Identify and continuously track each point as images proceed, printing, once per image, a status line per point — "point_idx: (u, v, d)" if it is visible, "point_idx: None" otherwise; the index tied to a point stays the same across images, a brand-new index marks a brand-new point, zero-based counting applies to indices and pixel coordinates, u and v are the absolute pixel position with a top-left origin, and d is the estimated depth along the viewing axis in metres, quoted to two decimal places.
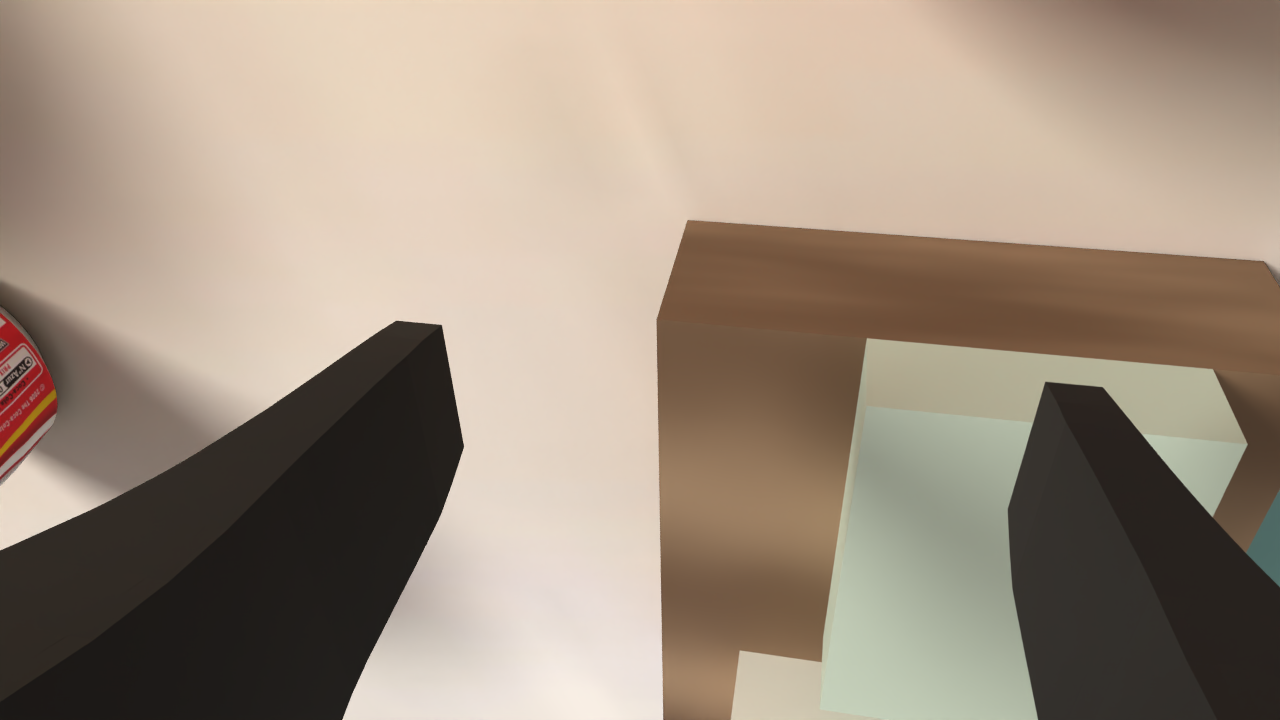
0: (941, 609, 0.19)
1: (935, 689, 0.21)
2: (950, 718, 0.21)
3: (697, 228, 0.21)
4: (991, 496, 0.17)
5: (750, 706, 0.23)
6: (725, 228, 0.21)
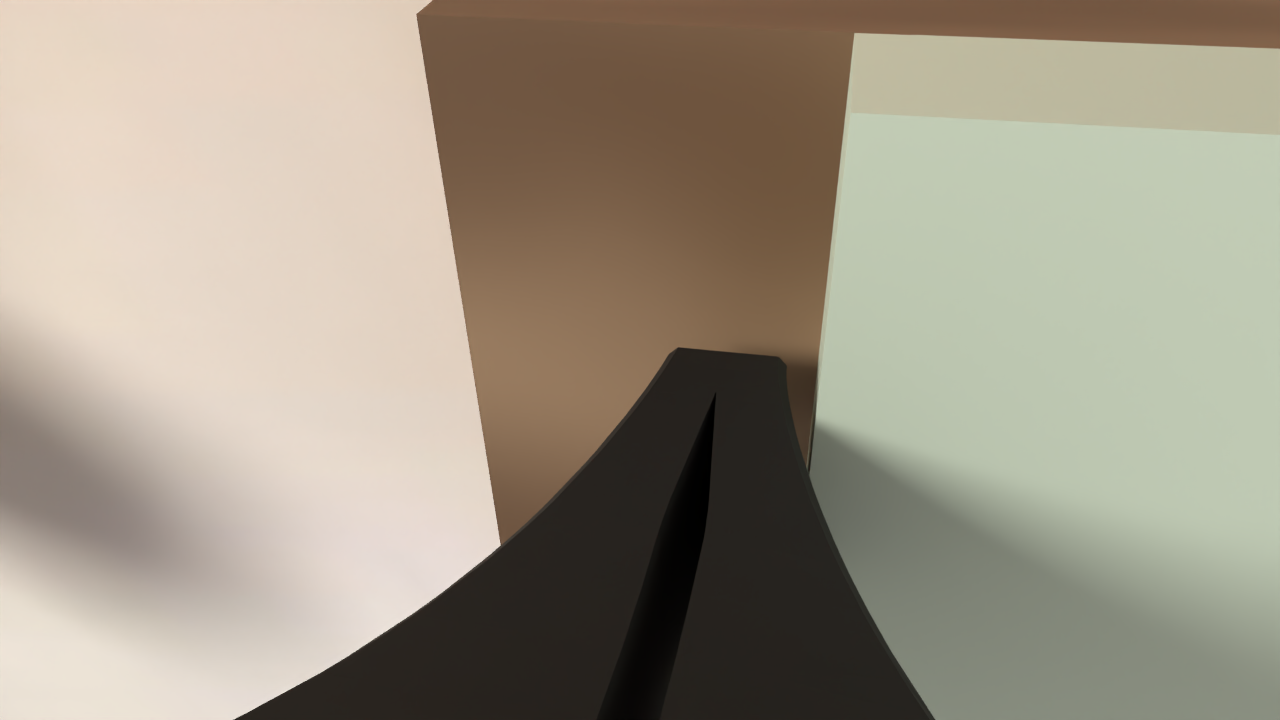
0: (990, 557, 0.10)
1: (974, 700, 0.12)
2: None
3: None
4: (1102, 317, 0.08)
5: None
6: None
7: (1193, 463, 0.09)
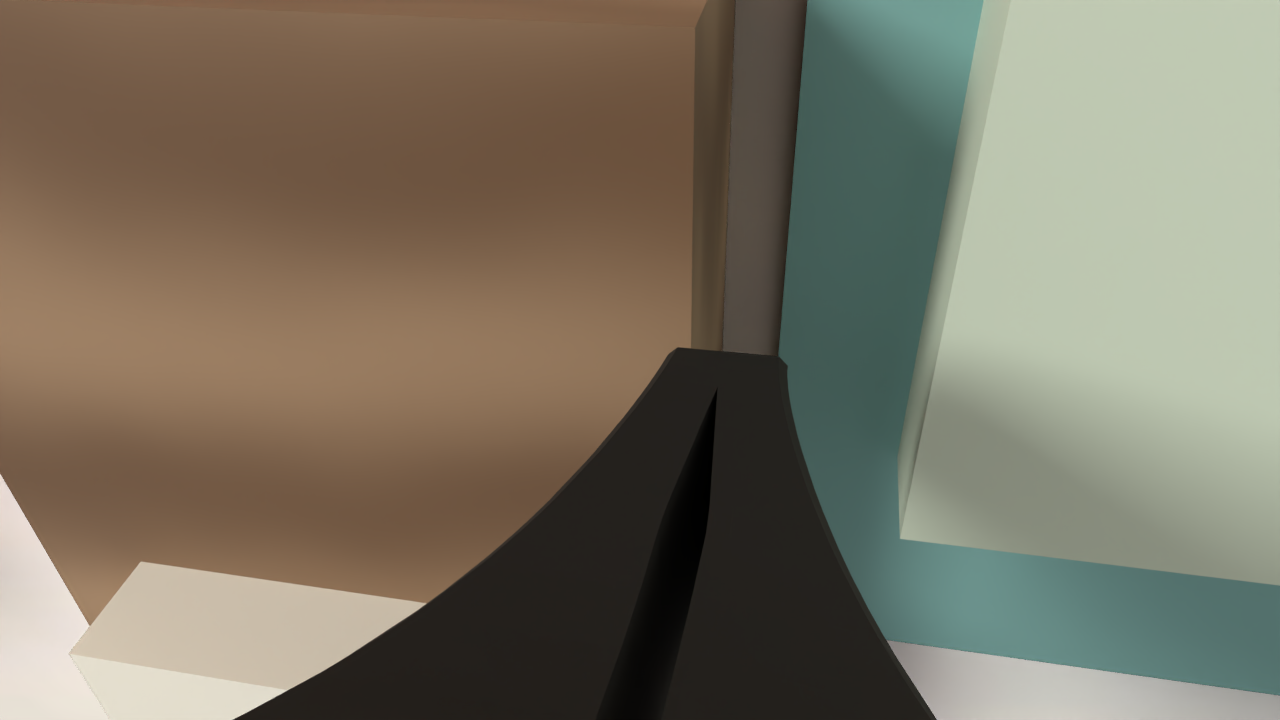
0: None
1: None
2: None
3: None
4: None
5: (109, 634, 0.16)
6: None
7: None
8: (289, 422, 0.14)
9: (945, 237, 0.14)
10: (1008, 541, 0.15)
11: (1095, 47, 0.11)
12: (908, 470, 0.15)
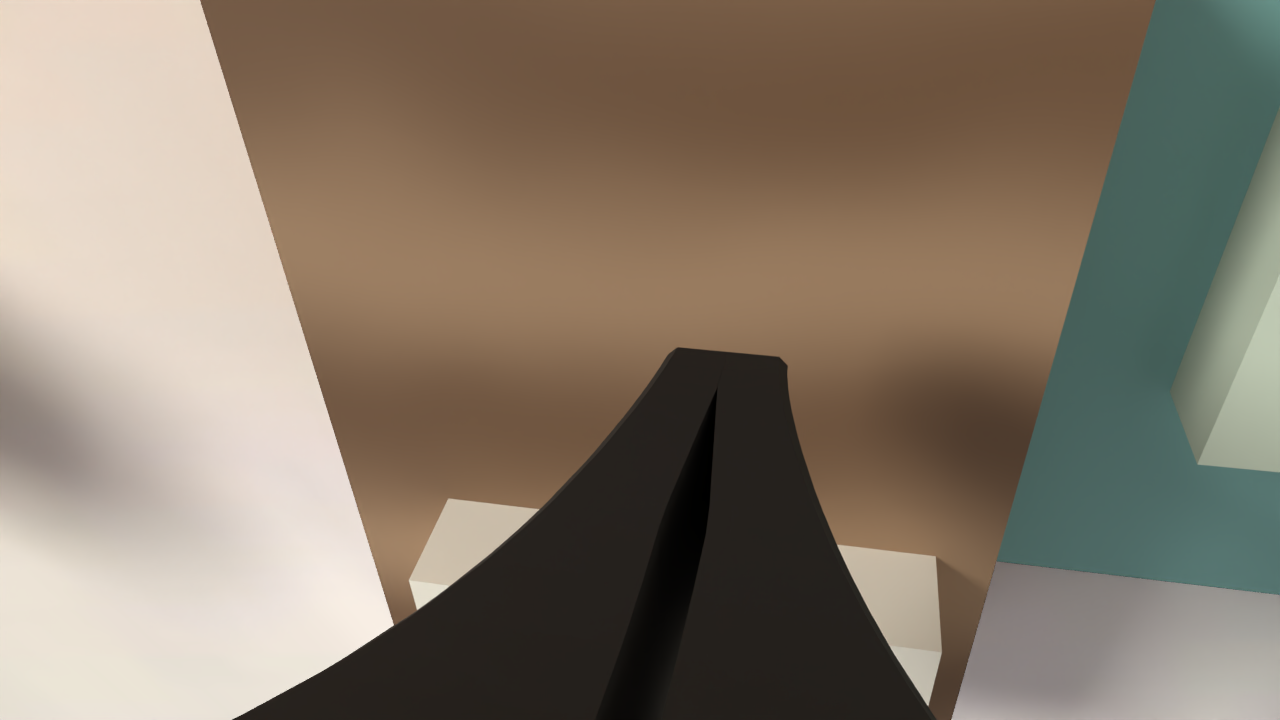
0: None
1: None
2: None
3: None
4: None
5: (442, 562, 0.17)
6: None
7: None
8: (644, 353, 0.15)
9: (1276, 169, 0.15)
10: None
11: None
12: (1208, 398, 0.16)
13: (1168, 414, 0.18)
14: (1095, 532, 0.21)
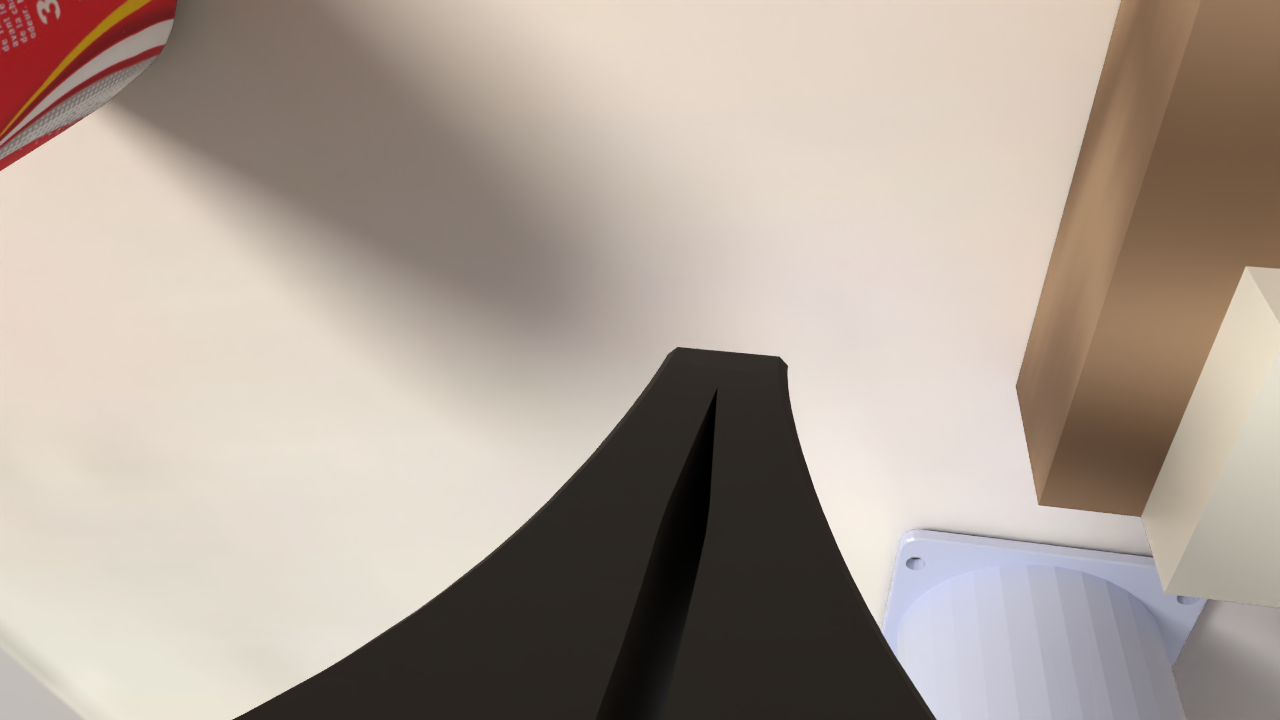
0: None
1: None
2: None
3: None
4: None
5: None
6: None
7: None
8: None
9: None
10: None
11: None
12: None
13: None
14: None
